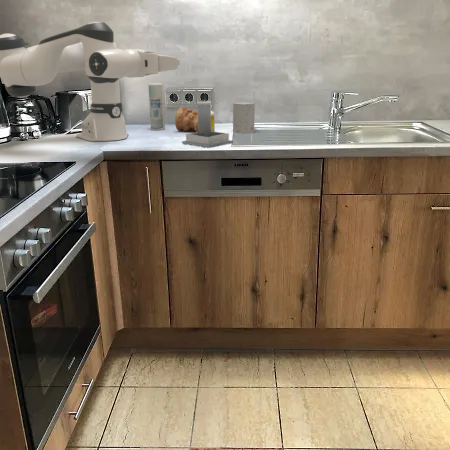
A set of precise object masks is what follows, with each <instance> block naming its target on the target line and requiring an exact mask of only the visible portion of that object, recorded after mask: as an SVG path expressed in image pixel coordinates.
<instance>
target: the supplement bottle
mask: <svg viewBox="0 0 450 450" xmlns="http://www.w3.org/2000/svg"><path fill="white" fill-rule="evenodd" d="M212 108H213V106H212V104H211V131H214V132H216V131H215V112H214V111H212Z"/></svg>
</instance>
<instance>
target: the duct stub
mask: <svg viewBox="0 0 450 450" xmlns="http://www.w3.org/2000/svg"><path fill="white" fill-rule="evenodd" d="M211 105H212V101H211V100H197V101H196V107H197V113H198V135H199V136H206V137H210V136H211V111H212V109H211Z"/></svg>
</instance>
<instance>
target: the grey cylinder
mask: <svg viewBox="0 0 450 450" xmlns="http://www.w3.org/2000/svg"><path fill="white" fill-rule="evenodd" d="M255 104H256V103H255V102H252V101H251V102H249V101H238V102H237V101H236V102H235V101H234V102H232V112H233V113H232V132H233V133H235V134H236V133H237V134H251V133H252V134H253V133H254V132H255V114H256V113H255V111H256V110H255V109H256V107H255V106H256V105H255Z"/></svg>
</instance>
